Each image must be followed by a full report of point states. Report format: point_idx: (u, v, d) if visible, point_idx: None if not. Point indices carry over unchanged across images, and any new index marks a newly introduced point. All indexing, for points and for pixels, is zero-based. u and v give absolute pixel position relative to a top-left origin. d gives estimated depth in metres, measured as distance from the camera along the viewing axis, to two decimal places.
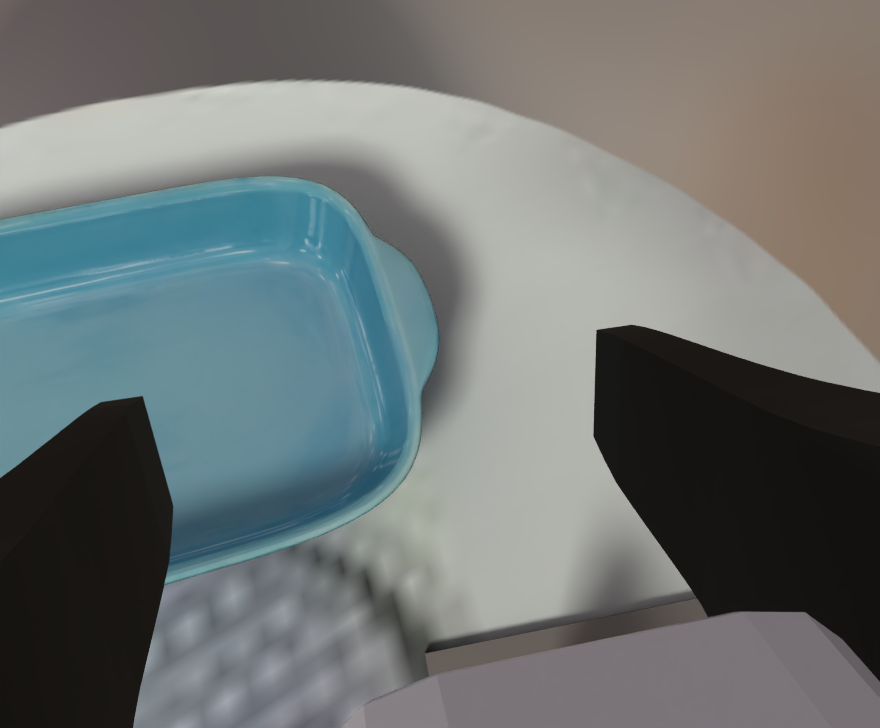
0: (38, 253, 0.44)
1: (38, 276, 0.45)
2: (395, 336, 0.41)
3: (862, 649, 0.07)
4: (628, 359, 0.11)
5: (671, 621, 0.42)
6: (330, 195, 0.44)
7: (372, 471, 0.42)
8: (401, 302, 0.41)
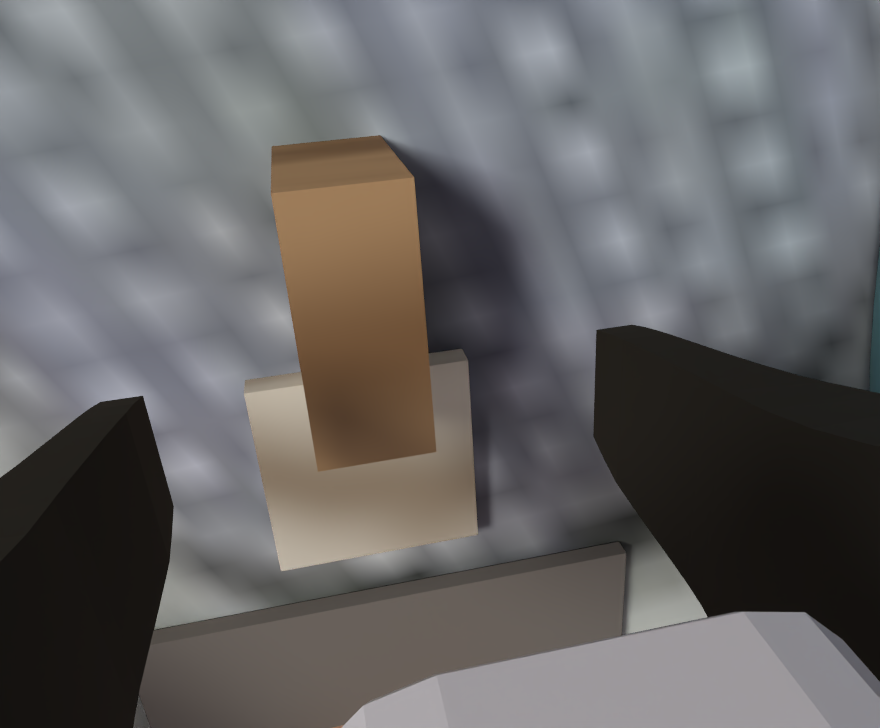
0: None
1: None
2: None
3: (862, 649, 0.07)
4: (628, 359, 0.11)
5: None
6: None
7: None
8: None
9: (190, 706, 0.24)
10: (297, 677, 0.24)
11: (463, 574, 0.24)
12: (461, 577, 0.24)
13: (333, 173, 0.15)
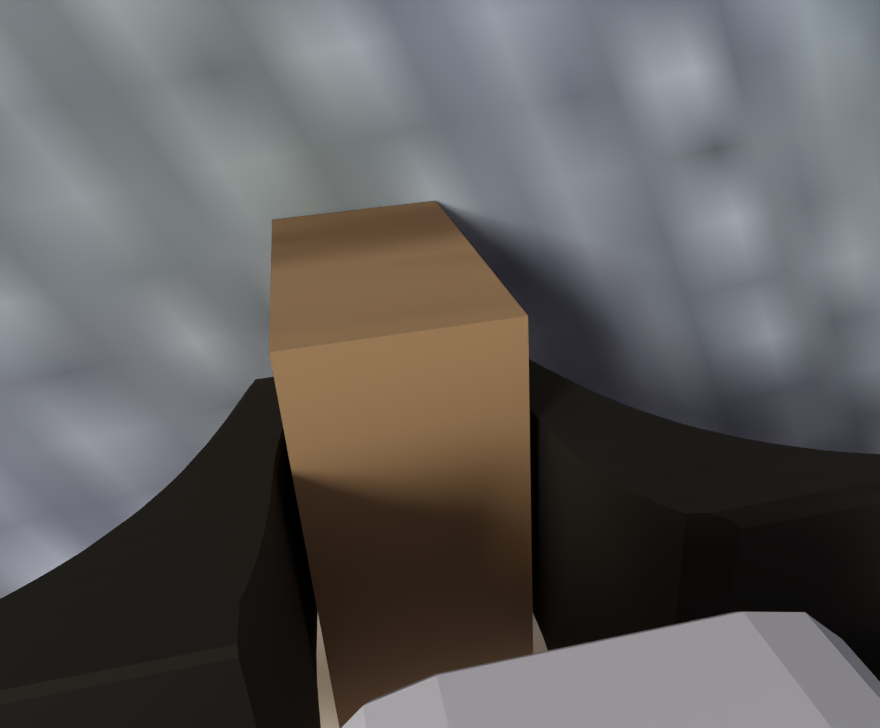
0: None
1: None
2: None
3: None
4: None
5: None
6: None
7: None
8: None
9: None
10: None
11: None
12: None
13: (377, 295, 0.08)
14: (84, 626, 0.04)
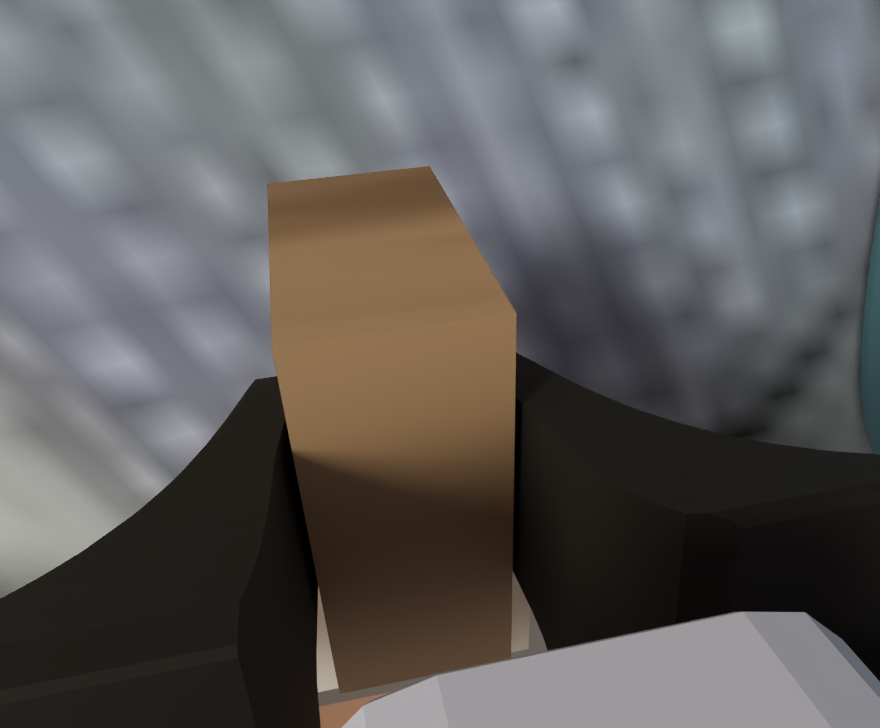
0: None
1: None
2: None
3: None
4: None
5: None
6: None
7: None
8: None
9: None
10: None
11: None
12: None
13: (373, 283, 0.09)
14: (86, 628, 0.04)
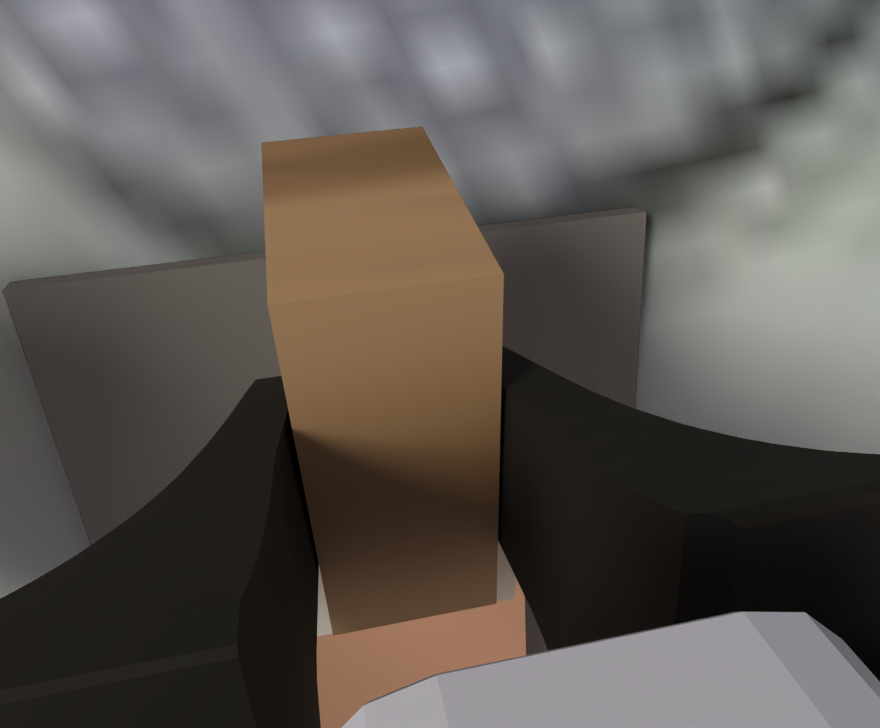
0: None
1: None
2: None
3: None
4: None
5: None
6: None
7: None
8: None
9: (96, 389, 0.19)
10: (232, 359, 0.19)
11: None
12: None
13: (366, 243, 0.09)
14: (84, 628, 0.04)
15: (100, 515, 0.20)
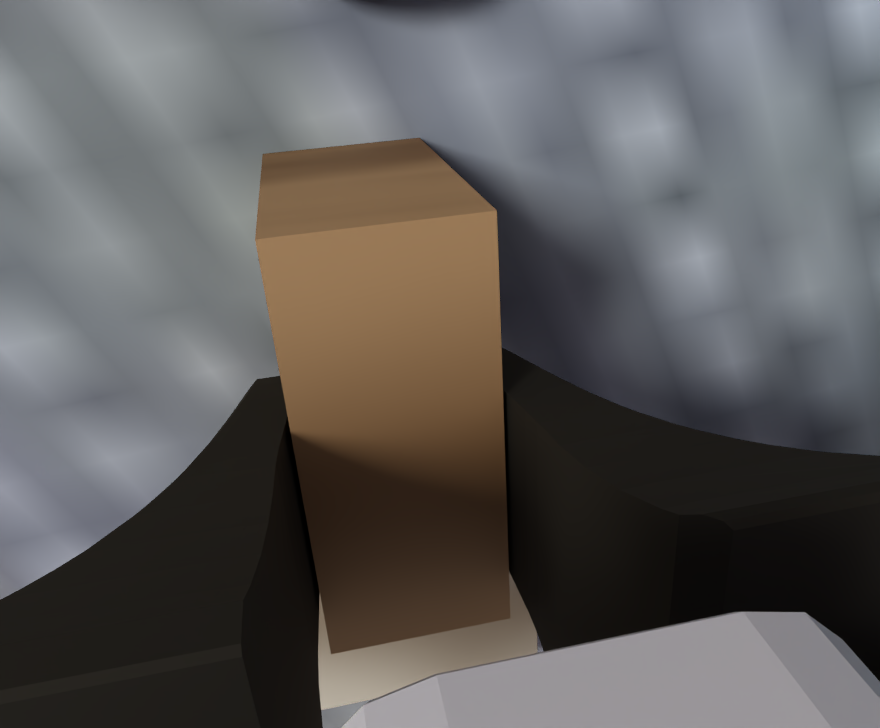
0: None
1: None
2: None
3: None
4: None
5: None
6: None
7: None
8: None
9: None
10: None
11: None
12: None
13: (359, 201, 0.09)
14: (90, 626, 0.04)
15: None
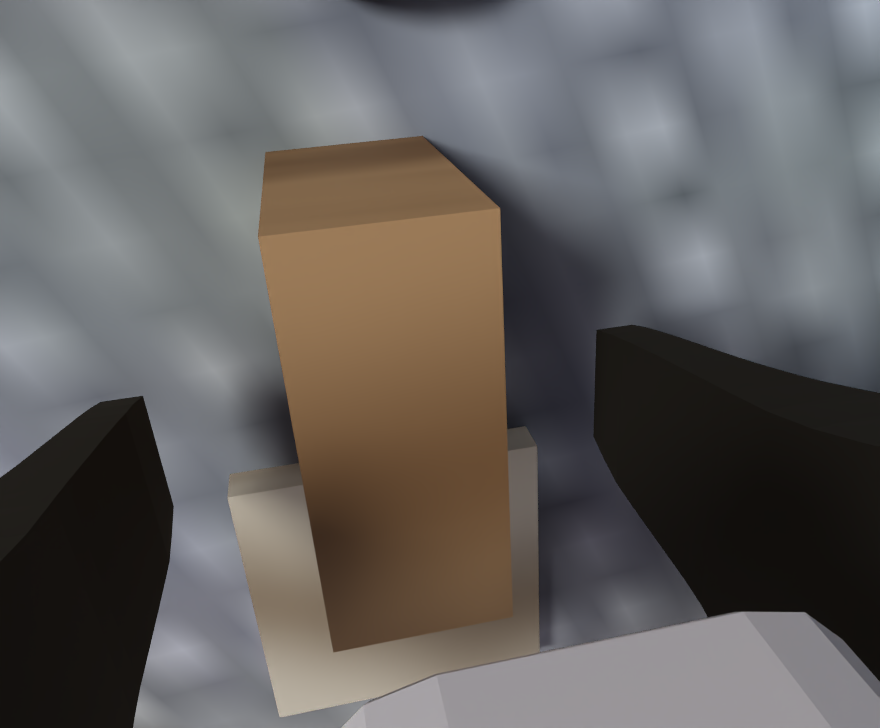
0: None
1: None
2: None
3: (862, 649, 0.07)
4: (628, 359, 0.11)
5: None
6: None
7: None
8: None
9: None
10: None
11: None
12: None
13: (361, 198, 0.09)
14: None
15: None
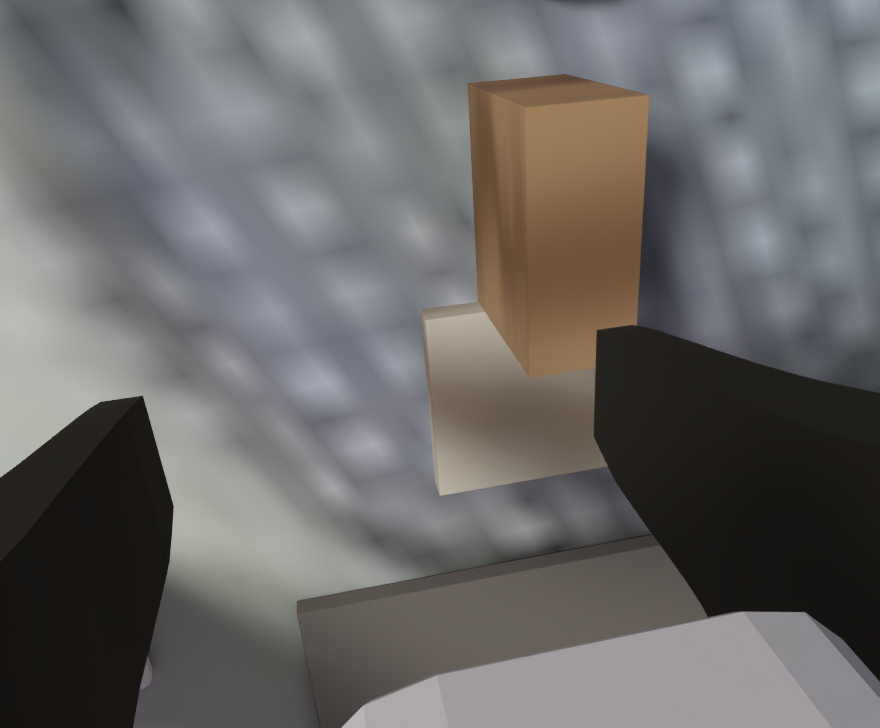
0: None
1: None
2: None
3: (862, 649, 0.07)
4: (628, 359, 0.11)
5: None
6: None
7: None
8: None
9: (349, 667, 0.26)
10: (445, 642, 0.26)
11: (596, 548, 0.27)
12: (595, 550, 0.26)
13: (563, 95, 0.16)
14: None
15: None
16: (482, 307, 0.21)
